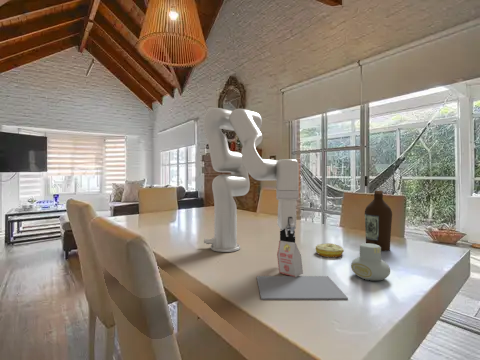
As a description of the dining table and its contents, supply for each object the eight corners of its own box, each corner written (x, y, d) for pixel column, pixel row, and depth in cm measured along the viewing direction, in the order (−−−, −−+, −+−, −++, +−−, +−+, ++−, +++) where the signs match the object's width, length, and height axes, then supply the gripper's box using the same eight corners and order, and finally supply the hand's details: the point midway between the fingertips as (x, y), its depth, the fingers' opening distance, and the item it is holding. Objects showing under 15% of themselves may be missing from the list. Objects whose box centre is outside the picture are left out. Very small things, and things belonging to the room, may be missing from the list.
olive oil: (376, 244, 125) (376, 189, 125) (397, 250, 116) (398, 191, 115) (358, 246, 121) (359, 190, 121) (379, 252, 111) (380, 191, 111)
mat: (261, 299, 69) (261, 298, 69) (256, 277, 84) (256, 276, 84) (347, 299, 69) (347, 297, 69) (328, 277, 84) (328, 276, 84)
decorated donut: (347, 254, 110) (347, 245, 109) (336, 260, 102) (336, 250, 102) (323, 249, 117) (323, 240, 116) (311, 254, 109) (311, 245, 109)
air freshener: (346, 274, 87) (346, 243, 87) (363, 270, 91) (363, 240, 91) (378, 286, 77) (378, 251, 77) (395, 281, 81) (395, 247, 81)
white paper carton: (286, 269, 90) (283, 239, 90) (303, 273, 85) (299, 241, 85) (279, 272, 88) (275, 241, 88) (295, 277, 83) (291, 244, 82)
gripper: (272, 193, 102) (272, 239, 102) (280, 197, 85) (280, 252, 85) (292, 193, 102) (292, 239, 102) (304, 197, 85) (304, 252, 85)
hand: (287, 245), depth 93 cm, fingers open, 9 cm apart
